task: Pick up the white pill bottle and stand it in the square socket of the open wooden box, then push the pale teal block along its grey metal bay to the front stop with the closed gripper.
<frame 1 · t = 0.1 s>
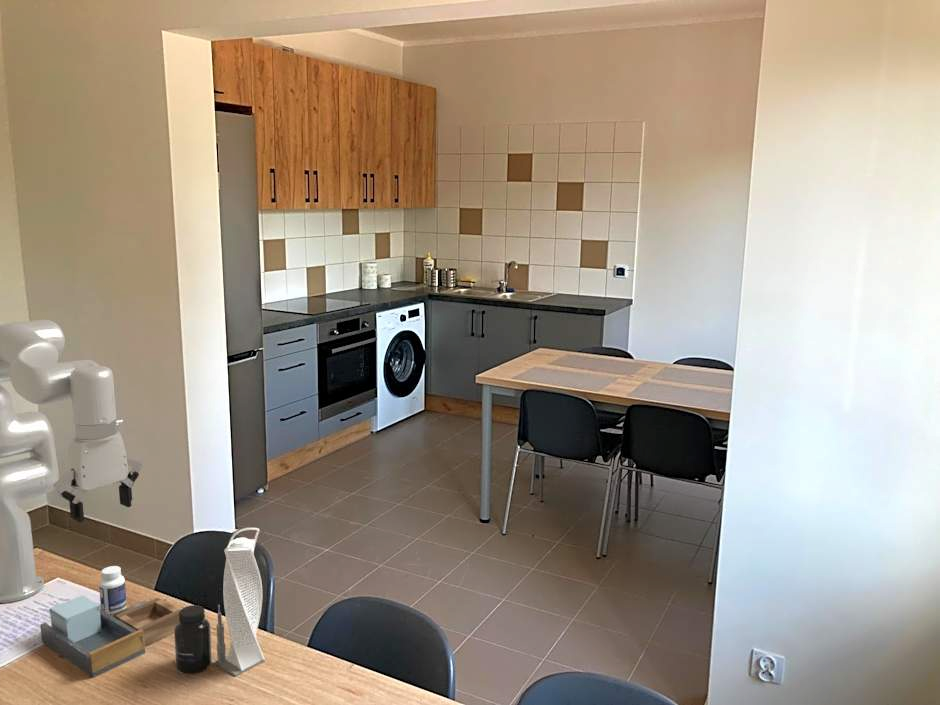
hand: (102, 512, 153), 31 cm above the table, fingers open, 9 cm apart
supplement bottle: (194, 666, 155), on the table
open wooden box: (150, 630, 168), on the table
pale teal block: (75, 619, 164), point 4 cm above the table, slide at 0.0 cm
skyscraper: (245, 662, 157), on the table
bay: (93, 647, 161), on the table
pill bottle: (114, 609, 177), on the table
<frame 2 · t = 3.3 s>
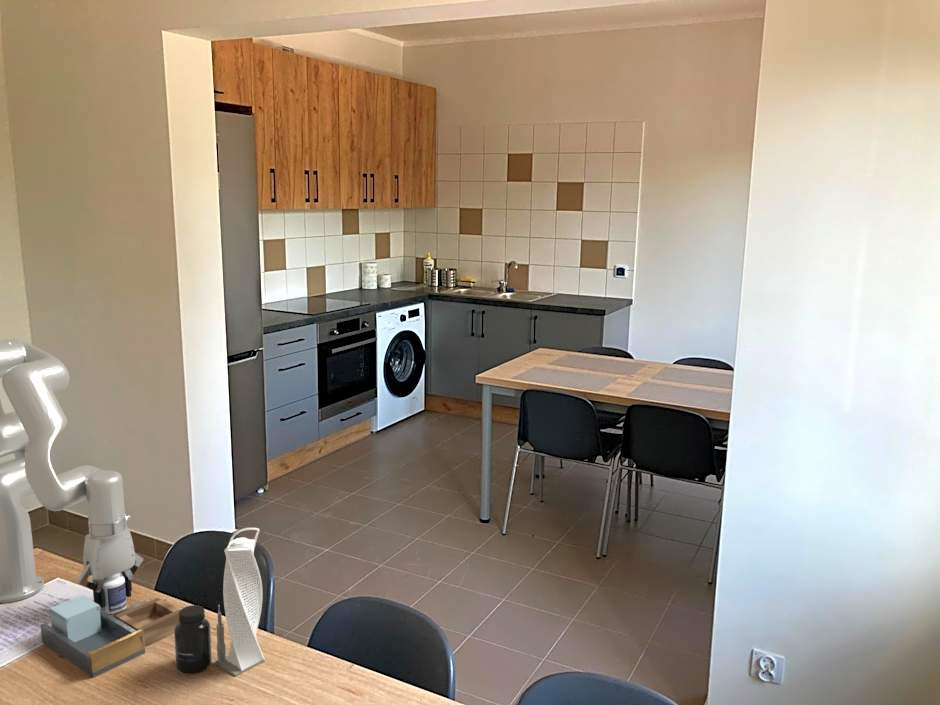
hand: (113, 599, 176), 2 cm above the table, fingers closed on pill bottle, 5 cm apart
pill bottle: (114, 609, 177), on the table, touching gripper
everything else where it was.
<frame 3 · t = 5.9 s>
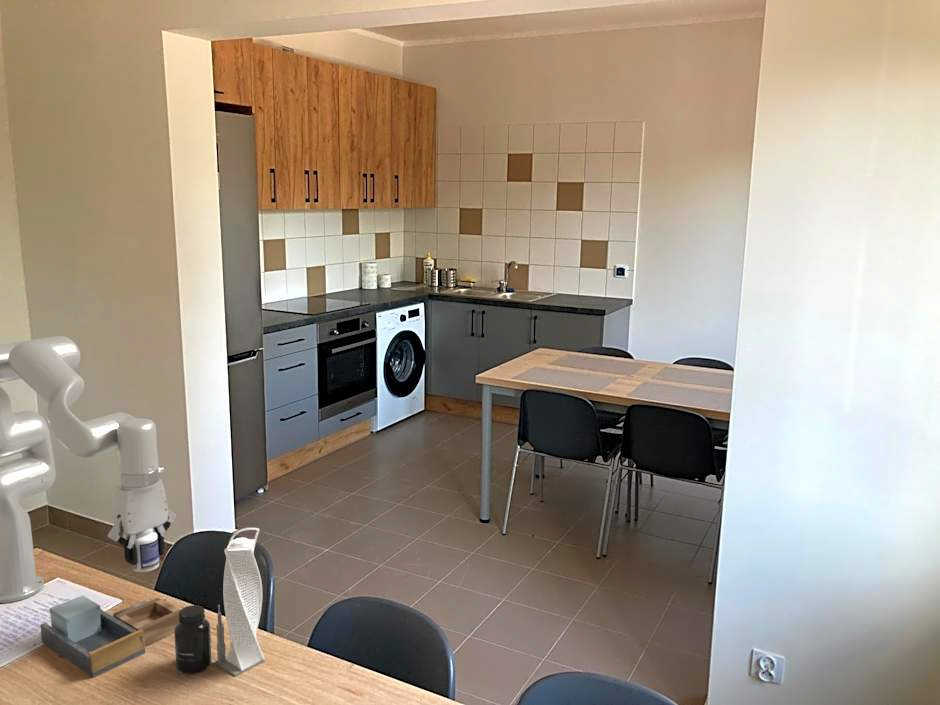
hand: (145, 557, 165), 17 cm above the table, fingers closed on pill bottle, 5 cm apart
pill bottle: (146, 568, 165), point 15 cm above the table, touching gripper
everything else where it was.
when the fingers open (4 cm above the table, at t = 8.6 s): pill bottle stays where it is, resting on open wooden box.
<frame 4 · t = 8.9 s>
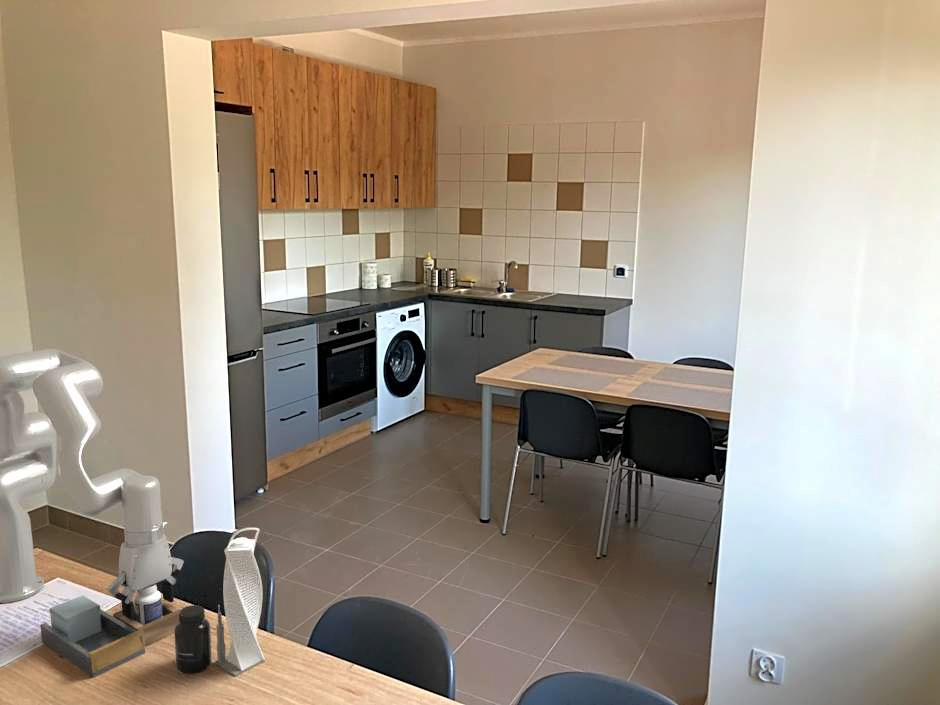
hand: (149, 608, 167), 5 cm above the table, fingers open, 8 cm apart
pill bottle: (150, 626, 168), point 1 cm above the table, touching open wooden box
everything else where it was.
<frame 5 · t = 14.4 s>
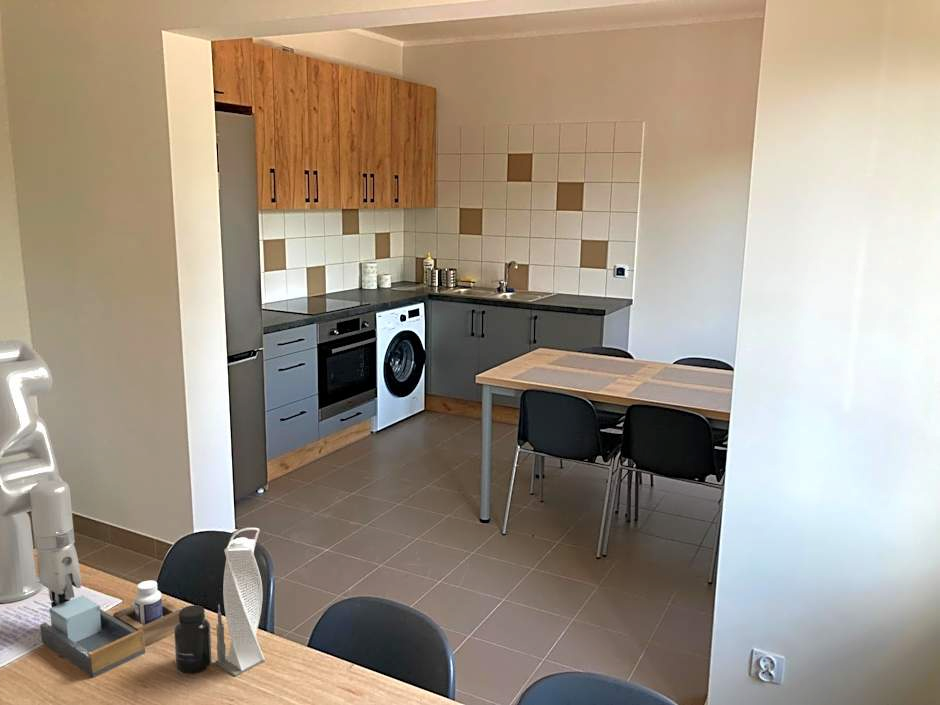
hand: (62, 617, 168), 2 cm above the table, fingers closed
pale teal block: (75, 619, 164), point 4 cm above the table, slide at 0.0 cm, touching gripper
everything else where it was.
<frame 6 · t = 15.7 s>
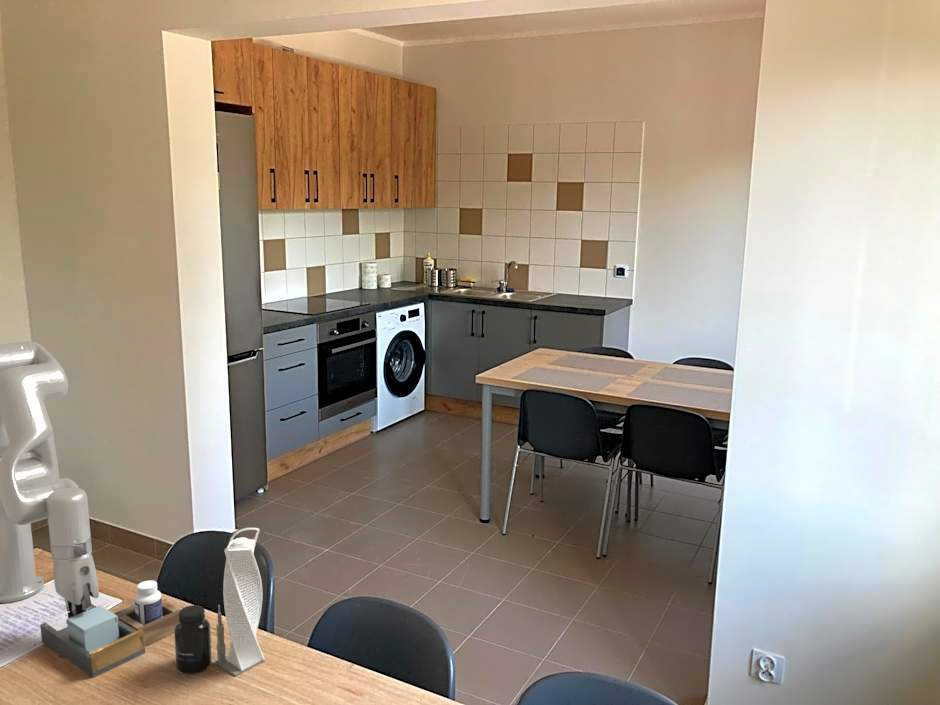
hand: (78, 627, 164), 2 cm above the table, fingers closed
pale teal block: (93, 630, 160), point 4 cm above the table, slide at 7.2 cm, touching gripper
everything else where it was.
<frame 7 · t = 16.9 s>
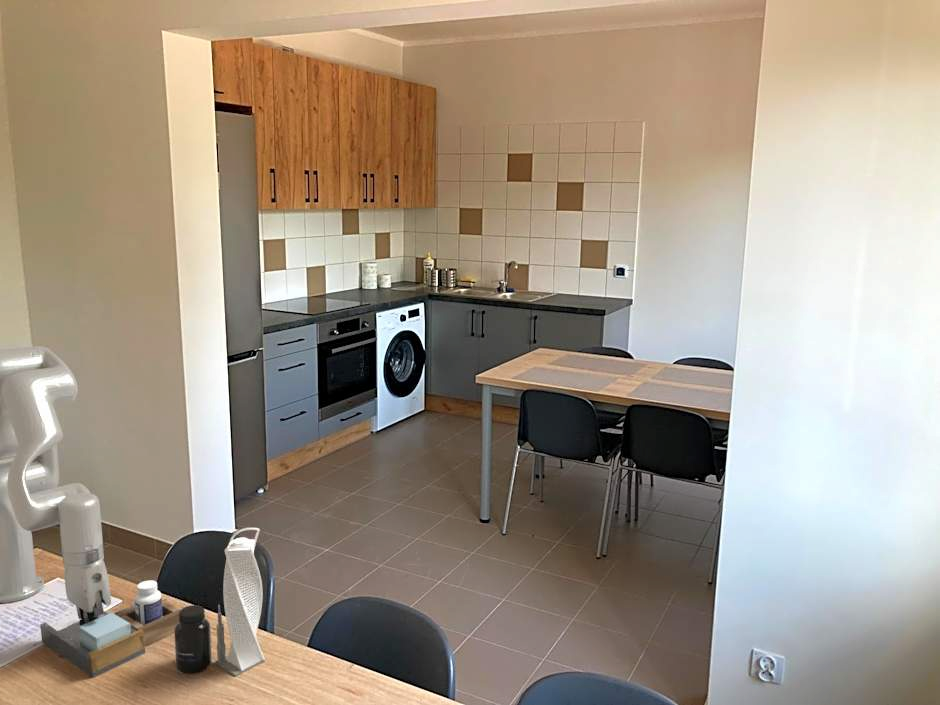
hand: (90, 635, 161), 2 cm above the table, fingers closed
pale teal block: (105, 638, 157), point 4 cm above the table, slide at 12.1 cm, touching gripper
everything else where it was.
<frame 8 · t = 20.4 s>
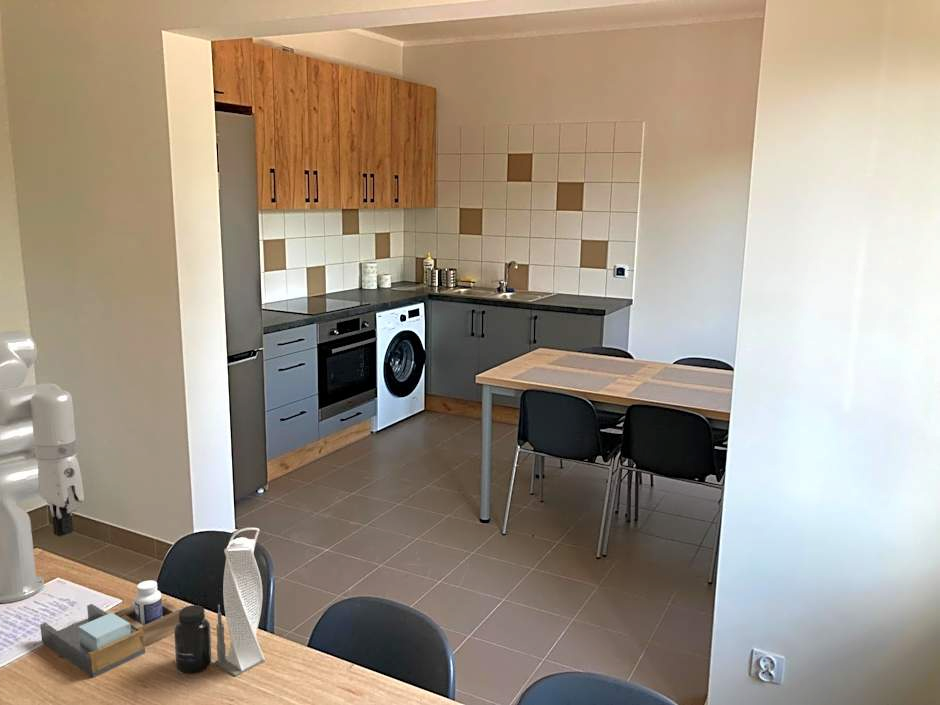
hand: (63, 533, 162), 23 cm above the table, fingers closed
pale teal block: (105, 638, 157), point 4 cm above the table, slide at 12.0 cm
everything else where it was.
at the end: pale teal block slide at 12.0 cm; pill bottle 0.2 cm off-centre on the open wooden box, point 0.8 cm above the open wooden box's base; pill bottle tilted 0° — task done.
